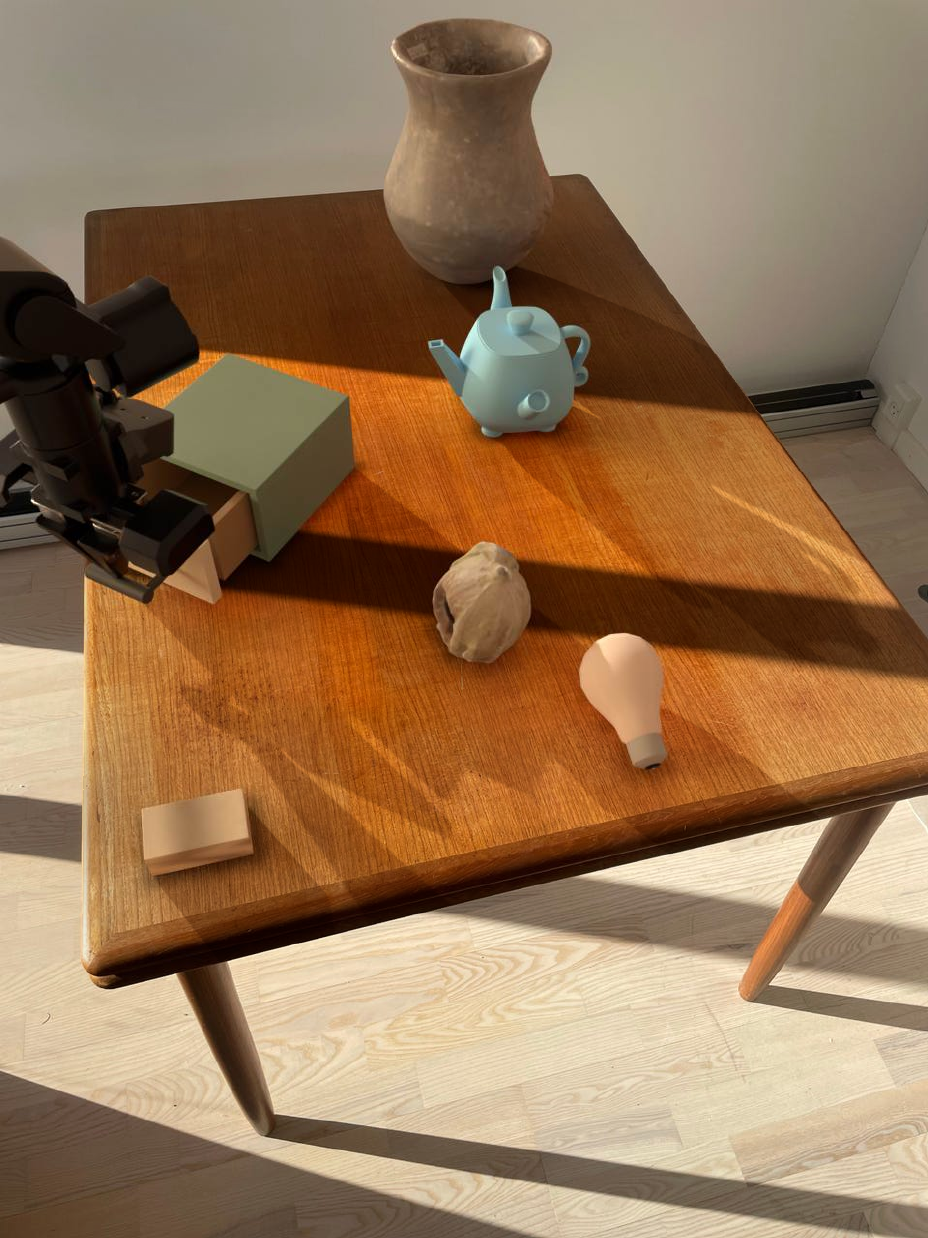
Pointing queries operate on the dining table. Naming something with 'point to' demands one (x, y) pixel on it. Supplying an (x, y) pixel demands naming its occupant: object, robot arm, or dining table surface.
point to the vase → (469, 148)
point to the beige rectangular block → (196, 832)
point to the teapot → (515, 366)
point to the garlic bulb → (482, 604)
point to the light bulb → (627, 693)
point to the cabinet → (265, 442)
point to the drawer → (214, 555)
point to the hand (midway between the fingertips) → (120, 574)
